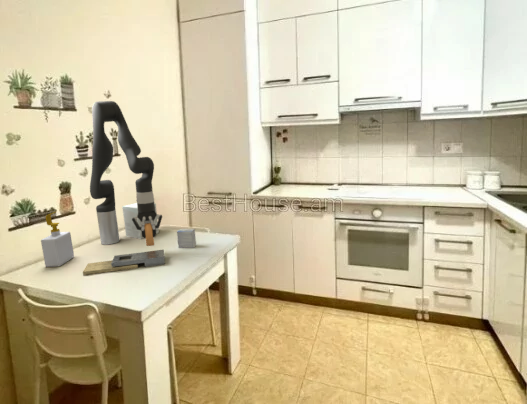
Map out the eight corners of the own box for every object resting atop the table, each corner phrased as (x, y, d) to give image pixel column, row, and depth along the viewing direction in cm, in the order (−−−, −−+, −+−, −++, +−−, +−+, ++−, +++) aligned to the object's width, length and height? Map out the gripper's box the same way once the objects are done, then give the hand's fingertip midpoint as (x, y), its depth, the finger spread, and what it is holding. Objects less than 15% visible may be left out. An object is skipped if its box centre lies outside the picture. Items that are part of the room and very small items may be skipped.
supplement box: (159, 232, 199) (156, 203, 196) (140, 239, 188) (137, 207, 185) (144, 230, 206) (141, 201, 203) (125, 236, 195) (121, 206, 192)
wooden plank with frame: (83, 275, 141) (82, 267, 140) (88, 266, 150) (87, 259, 150) (164, 264, 149) (163, 256, 148) (164, 256, 159) (163, 249, 158)
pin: (145, 243, 164) (142, 219, 161) (155, 242, 165) (153, 218, 162) (144, 246, 159) (142, 221, 157) (155, 245, 161) (152, 220, 158)
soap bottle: (59, 266, 152) (50, 215, 147) (44, 267, 152) (35, 215, 148) (74, 257, 164) (67, 208, 159) (61, 257, 164) (53, 209, 159)
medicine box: (196, 245, 174) (195, 228, 172) (193, 248, 169) (192, 231, 168) (181, 245, 174) (179, 228, 173) (178, 248, 170) (176, 231, 168)
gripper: (161, 198, 163) (165, 233, 167) (129, 201, 159) (134, 236, 163) (161, 201, 156) (165, 237, 160) (128, 204, 152) (132, 241, 156)
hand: (149, 237), depth 161 cm, fingers closed on pin, 3 cm apart
